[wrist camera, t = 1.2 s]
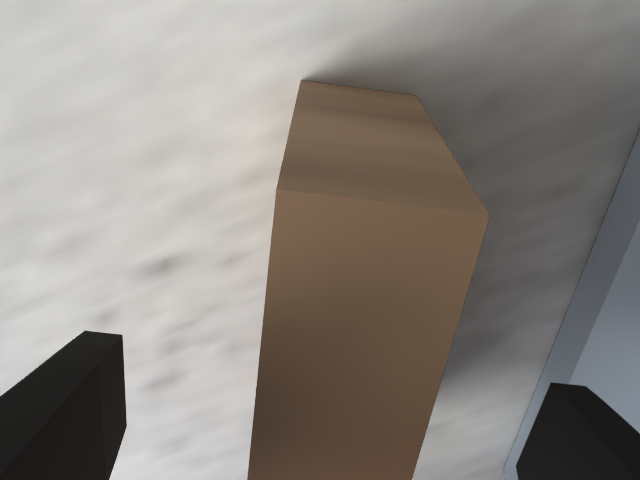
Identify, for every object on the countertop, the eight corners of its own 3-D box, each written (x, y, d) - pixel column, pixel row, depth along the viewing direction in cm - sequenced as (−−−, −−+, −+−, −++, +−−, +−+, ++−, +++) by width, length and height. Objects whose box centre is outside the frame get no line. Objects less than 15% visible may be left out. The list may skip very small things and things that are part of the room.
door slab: (351, 413, 16) (363, 652, 10) (263, 404, 16) (229, 640, 10) (418, 94, 12) (494, 215, 6) (298, 78, 11) (271, 188, 6)
